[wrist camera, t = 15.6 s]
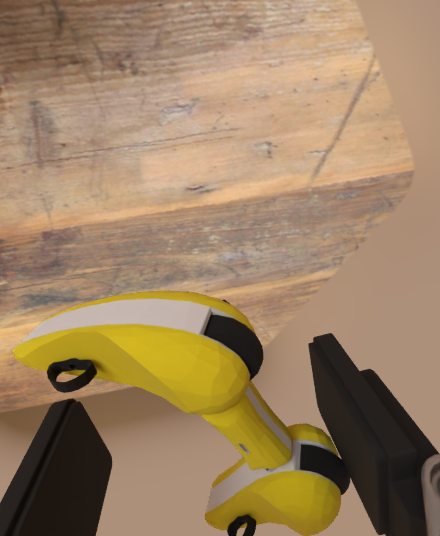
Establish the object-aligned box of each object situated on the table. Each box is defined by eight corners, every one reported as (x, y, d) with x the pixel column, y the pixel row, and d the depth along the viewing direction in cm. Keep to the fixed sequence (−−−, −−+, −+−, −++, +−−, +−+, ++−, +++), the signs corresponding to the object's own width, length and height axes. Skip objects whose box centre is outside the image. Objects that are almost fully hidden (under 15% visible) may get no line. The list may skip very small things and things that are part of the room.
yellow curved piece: (366, 442, 11) (384, 571, 8) (222, 450, 14) (200, 547, 11) (224, 213, 7) (171, 307, 5) (70, 290, 10) (-18, 375, 8)
